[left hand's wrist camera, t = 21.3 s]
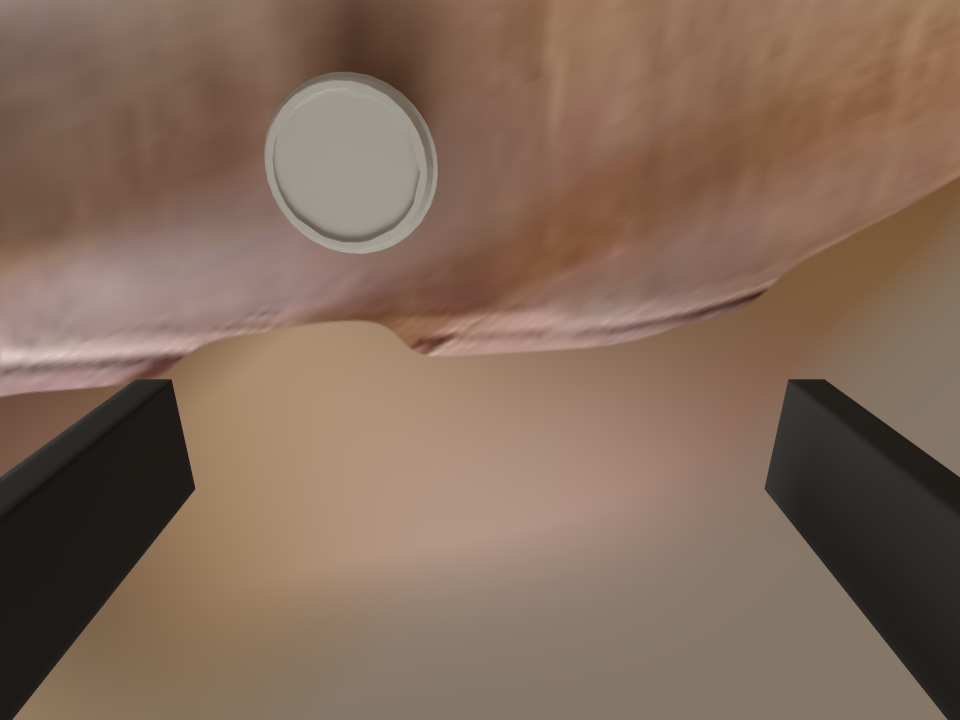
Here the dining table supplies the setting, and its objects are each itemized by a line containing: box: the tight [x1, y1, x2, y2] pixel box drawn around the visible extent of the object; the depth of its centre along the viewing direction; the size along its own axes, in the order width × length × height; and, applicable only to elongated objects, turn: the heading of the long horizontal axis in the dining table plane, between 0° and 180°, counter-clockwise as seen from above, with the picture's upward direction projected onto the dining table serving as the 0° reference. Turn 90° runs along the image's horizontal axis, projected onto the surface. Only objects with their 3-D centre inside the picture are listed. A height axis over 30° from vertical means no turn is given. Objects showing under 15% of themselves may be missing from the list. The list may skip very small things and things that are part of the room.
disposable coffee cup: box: [264, 71, 438, 254], centre depth 36 cm, size 10×10×12 cm
